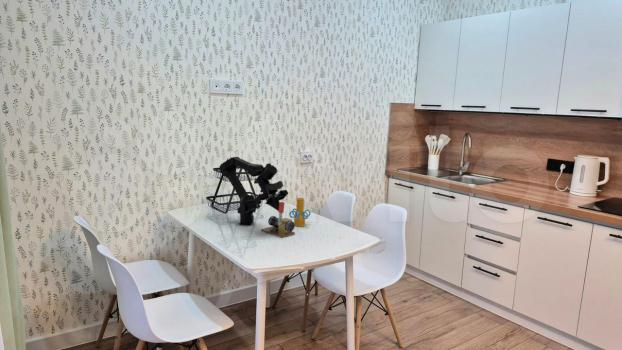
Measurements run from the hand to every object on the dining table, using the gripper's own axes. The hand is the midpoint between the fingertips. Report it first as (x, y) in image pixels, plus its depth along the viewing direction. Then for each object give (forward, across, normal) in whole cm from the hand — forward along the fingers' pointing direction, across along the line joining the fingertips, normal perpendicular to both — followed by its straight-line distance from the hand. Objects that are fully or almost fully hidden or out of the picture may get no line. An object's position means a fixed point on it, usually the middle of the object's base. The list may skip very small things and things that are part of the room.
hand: (279, 210), depth 216 cm
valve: (+7, +2, +11) cm, 13 cm away
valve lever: (+5, 0, +4) cm, 7 cm away
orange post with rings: (+6, +20, +13) cm, 24 cm away
